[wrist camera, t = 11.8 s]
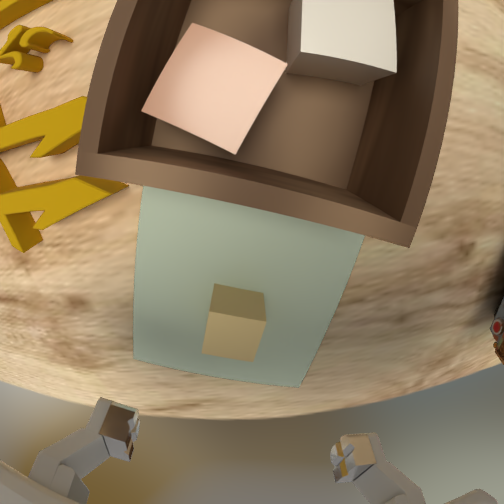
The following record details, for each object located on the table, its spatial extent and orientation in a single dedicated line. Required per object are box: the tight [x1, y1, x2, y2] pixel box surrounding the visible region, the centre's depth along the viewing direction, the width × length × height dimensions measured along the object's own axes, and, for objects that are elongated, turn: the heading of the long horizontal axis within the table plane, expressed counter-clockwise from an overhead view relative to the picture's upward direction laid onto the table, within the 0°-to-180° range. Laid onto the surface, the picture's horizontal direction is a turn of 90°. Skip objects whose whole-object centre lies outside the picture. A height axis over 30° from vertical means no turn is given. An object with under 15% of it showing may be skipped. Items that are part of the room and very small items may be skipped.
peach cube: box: [142, 23, 288, 154], centre depth 11 cm, size 4×4×4 cm
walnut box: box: [75, 0, 458, 248], centre depth 10 cm, size 12×12×7 cm
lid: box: [133, 186, 365, 388], centre depth 17 cm, size 13×13×4 cm
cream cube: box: [286, 0, 397, 85], centre depth 10 cm, size 4×4×4 cm
